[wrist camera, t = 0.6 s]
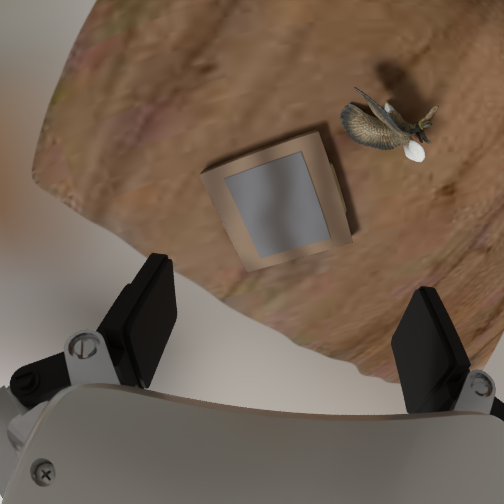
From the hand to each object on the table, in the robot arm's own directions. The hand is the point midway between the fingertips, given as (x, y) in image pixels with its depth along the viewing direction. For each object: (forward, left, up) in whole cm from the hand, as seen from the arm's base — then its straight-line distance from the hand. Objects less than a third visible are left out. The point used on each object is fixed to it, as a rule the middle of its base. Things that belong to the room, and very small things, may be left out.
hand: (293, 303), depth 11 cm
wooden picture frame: (+4, +6, -25) cm, 26 cm away
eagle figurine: (-11, 0, -26) cm, 28 cm away
